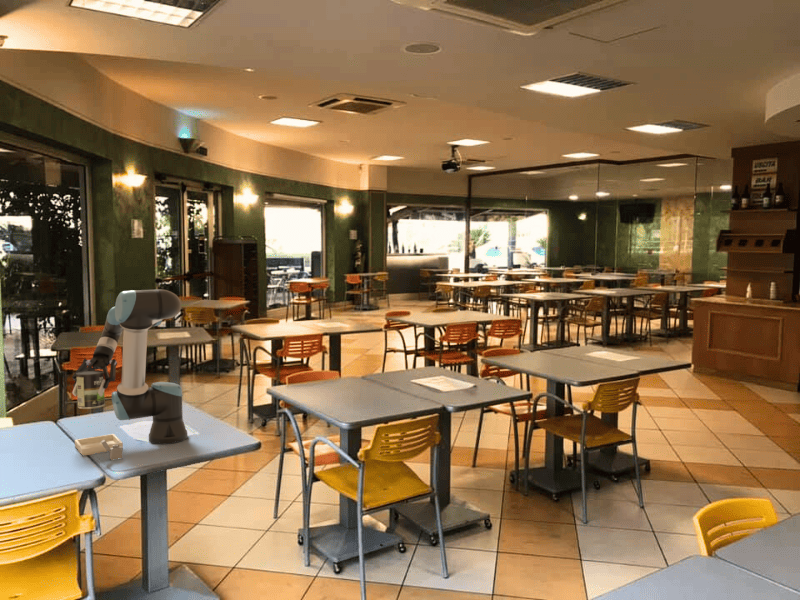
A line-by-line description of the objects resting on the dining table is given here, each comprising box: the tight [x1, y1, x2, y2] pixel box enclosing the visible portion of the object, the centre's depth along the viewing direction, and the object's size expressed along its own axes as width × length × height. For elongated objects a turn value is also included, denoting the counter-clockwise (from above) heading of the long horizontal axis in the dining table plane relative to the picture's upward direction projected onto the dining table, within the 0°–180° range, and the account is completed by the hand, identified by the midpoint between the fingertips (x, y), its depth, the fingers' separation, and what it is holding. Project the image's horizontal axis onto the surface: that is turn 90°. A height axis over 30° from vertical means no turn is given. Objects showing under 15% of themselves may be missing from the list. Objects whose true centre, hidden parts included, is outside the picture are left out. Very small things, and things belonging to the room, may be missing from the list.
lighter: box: [101, 440, 123, 461], centre depth 250 cm, size 7×2×8 cm, turn 129°
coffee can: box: [76, 369, 106, 410], centre depth 275 cm, size 10×10×14 cm
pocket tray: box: [74, 433, 124, 456], centre depth 264 cm, size 15×15×3 cm
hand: (87, 394), depth 272 cm, fingers closed on coffee can, 10 cm apart
